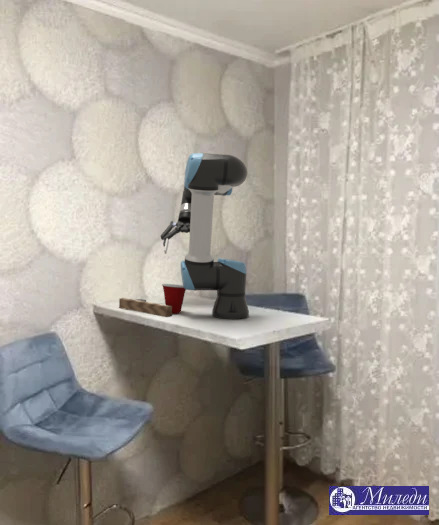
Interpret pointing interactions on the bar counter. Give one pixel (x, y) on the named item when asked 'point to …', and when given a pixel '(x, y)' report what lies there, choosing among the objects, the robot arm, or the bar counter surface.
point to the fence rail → (145, 307)
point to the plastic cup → (174, 296)
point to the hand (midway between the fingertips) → (180, 253)
